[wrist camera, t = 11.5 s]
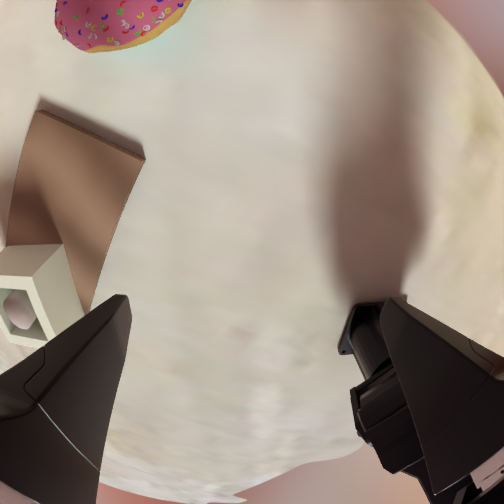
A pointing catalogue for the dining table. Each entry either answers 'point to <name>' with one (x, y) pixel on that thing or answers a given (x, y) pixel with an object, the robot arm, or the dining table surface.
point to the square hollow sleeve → (39, 291)
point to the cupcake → (115, 22)
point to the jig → (68, 202)
